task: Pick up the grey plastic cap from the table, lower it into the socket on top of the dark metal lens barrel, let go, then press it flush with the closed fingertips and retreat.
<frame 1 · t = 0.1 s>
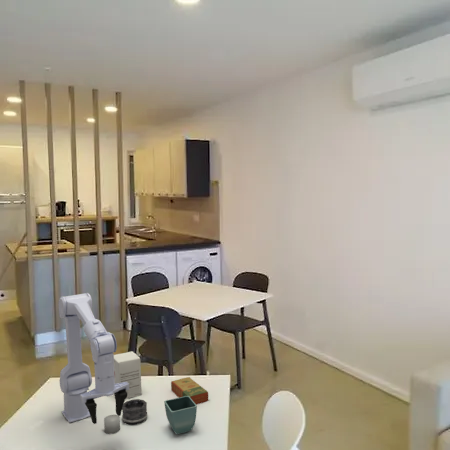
hand: (106, 418, 137), 10 cm above the table, tool pointing down, fingers open, 7 cm apart
barrel: (134, 418, 156), on the table
flower pot: (181, 430, 148), on the table
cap: (112, 430, 149), on the table
supplement box: (127, 394, 176), on the table
carton: (189, 397, 173), on the table
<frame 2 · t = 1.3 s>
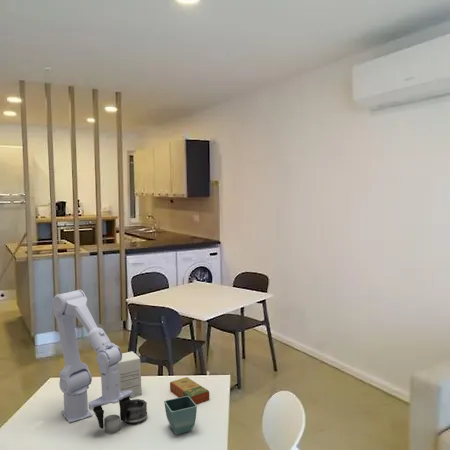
hand: (112, 423, 149), 2 cm above the table, tool pointing down, fingers open, 7 cm apart
nothing on the table moved.
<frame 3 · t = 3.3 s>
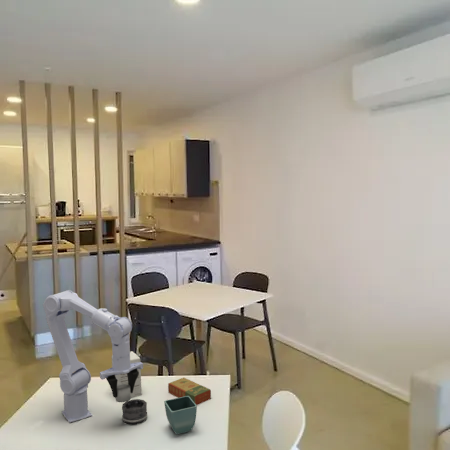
hand: (122, 394, 152), 10 cm above the table, tool pointing down, fingers closed on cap, 5 cm apart
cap: (123, 398, 152), point 9 cm above the table, touching gripper
when the fingers open (6 cm above the table, at t = 4.8 s): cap stays where it is, resting on barrel.
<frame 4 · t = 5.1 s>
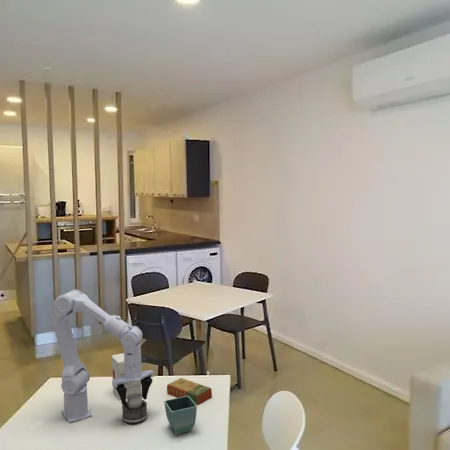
hand: (134, 401, 156), 6 cm above the table, tool pointing down, fingers open, 7 cm apart
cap: (134, 407, 156), point 4 cm above the table, touching barrel
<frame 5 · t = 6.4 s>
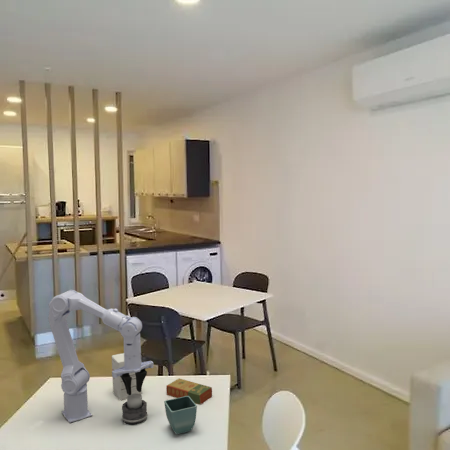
hand: (133, 392, 155), 9 cm above the table, tool pointing down, fingers open, 3 cm apart
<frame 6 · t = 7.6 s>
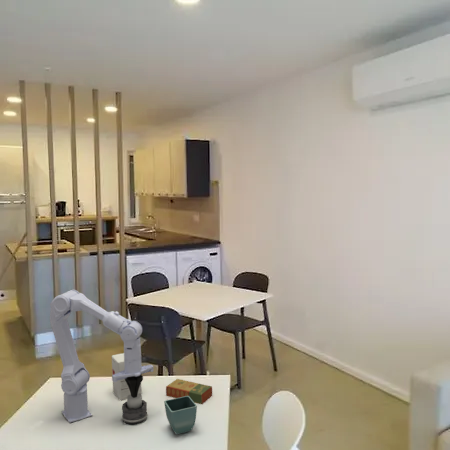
hand: (134, 396, 155), 8 cm above the table, tool pointing down, fingers closed
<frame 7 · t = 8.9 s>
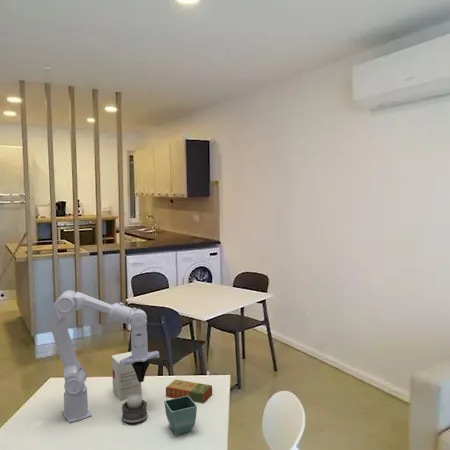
hand: (140, 381, 162), 10 cm above the table, tool pointing down, fingers closed
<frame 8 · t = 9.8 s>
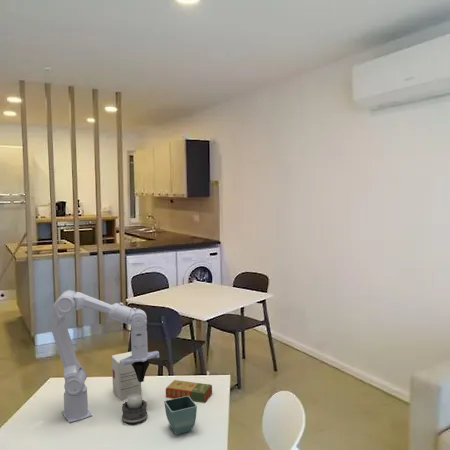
hand: (140, 381, 162), 10 cm above the table, tool pointing down, fingers closed
at the end: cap 0.2 cm off-centre on the barrel, point 4.0 cm above the barrel's base; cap tilted 0°; the gripper is holding nothing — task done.
